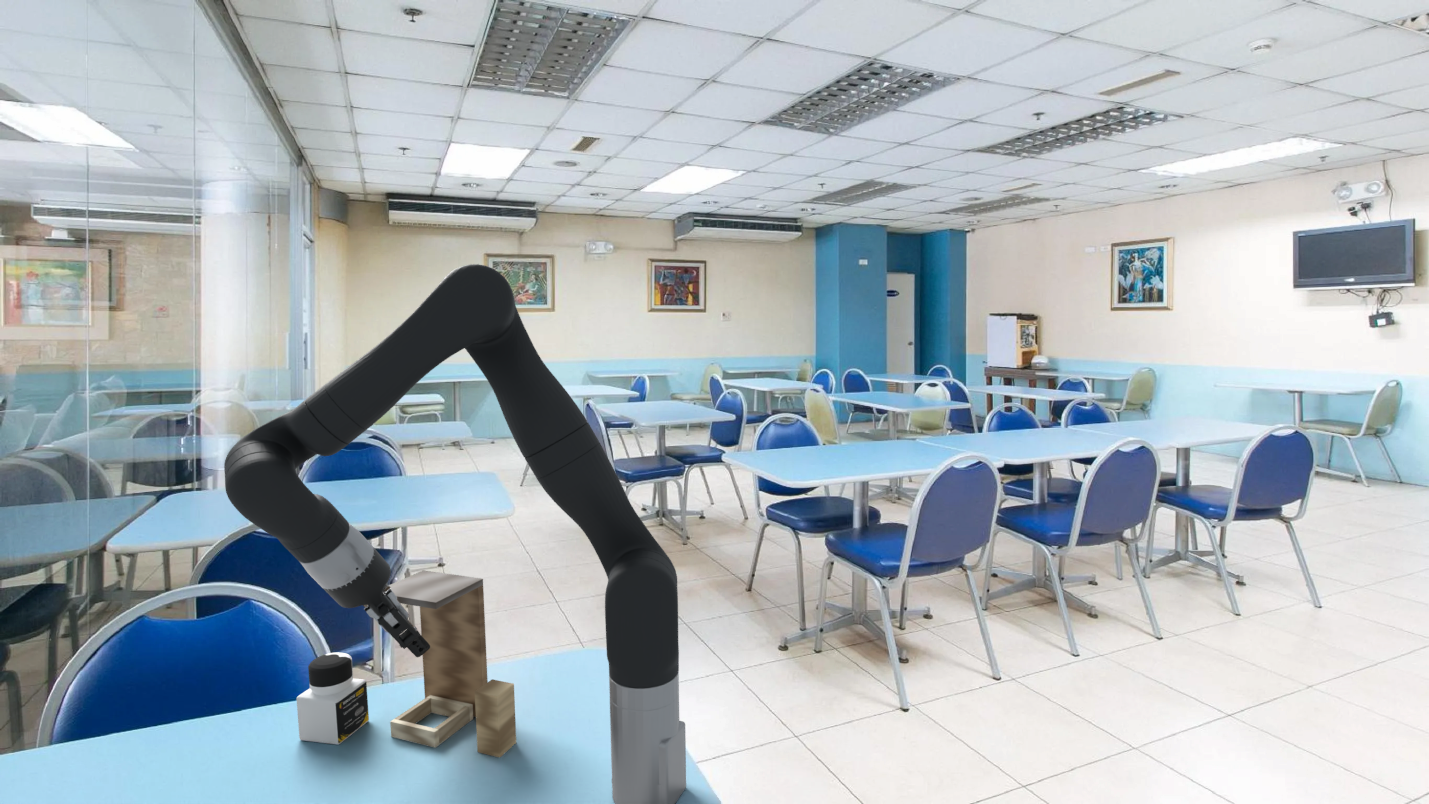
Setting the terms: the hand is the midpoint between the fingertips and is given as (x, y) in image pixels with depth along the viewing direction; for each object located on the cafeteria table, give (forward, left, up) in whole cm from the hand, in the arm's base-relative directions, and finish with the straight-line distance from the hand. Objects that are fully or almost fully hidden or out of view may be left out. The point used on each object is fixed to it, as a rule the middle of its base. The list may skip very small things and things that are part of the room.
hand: (412, 635), depth 105 cm
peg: (-8, -8, -20) cm, 22 cm away
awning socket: (+5, -9, -20) cm, 22 cm away
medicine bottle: (+19, -3, -20) cm, 28 cm away
